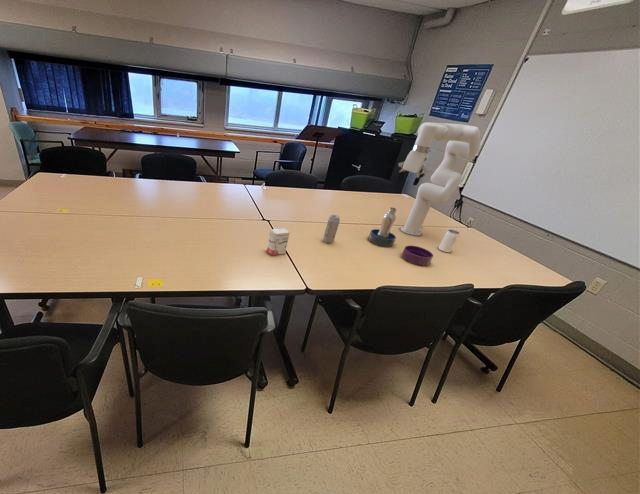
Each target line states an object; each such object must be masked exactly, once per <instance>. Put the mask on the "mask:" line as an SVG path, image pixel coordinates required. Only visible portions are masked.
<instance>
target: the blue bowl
mask: <svg viewBox="0 0 640 494" xmlns="http://www.w3.org/2000/svg"><path fill="white" fill-rule="evenodd" d="M379 230H380V228H376V229H375V228H374V229H371V230H370V232H369V235H368V238H367V240H368V241H369V242H371V243H372V244H375V245H377V246H380V247H387V248H388V247H392V246H394V244H395V242H396V239H397V236H396V235H395V234H394V233H393V232H391V231H390V232H389V237H388V239H385V238H381V237H378V236H376V235H377V233H378V232H379Z"/></svg>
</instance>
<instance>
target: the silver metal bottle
mask: <svg viewBox="0 0 640 494" xmlns="http://www.w3.org/2000/svg"><path fill="white" fill-rule="evenodd" d="M397 210H398V209H397V208H395V207H389V208H388V211H387V212H386V213H384V215H383V218H382V221H381V225H380V228H379V232H378V233H377V235H376V236H378V237H381V238H385V239H388V237H389V232H390V233H391V229H392V228H393V227H392V226H393V225H394V223H395V222H396V219H397V216H396V213H397Z"/></svg>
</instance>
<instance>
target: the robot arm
mask: <svg viewBox="0 0 640 494" xmlns="http://www.w3.org/2000/svg"><path fill="white" fill-rule="evenodd" d="M433 141H434V142H441V141H444V142H447V143H446V145H445V149H444V155H443V159H442V161H441V163H440V164H439V165H438V166H437V168H436V169H435V170H434V172H433V173H432V175H431V176H430V180H429V181H430V182H423V183H421V184H420V185H419V186H418V184H419V182H420V180H421V179H422V178H423V177H425V176H426V175H427V174H428V173H429V169H428V168H427V166H426V165H427V162H428V160H429V154H428V153H431V151H432V149H430V147H432V146H431V145H432V143H433ZM480 148H481V131H480V129H479V127H478V126H474V125H468V124H463V123H446V122H432V121H431V122H429V121H427V122H426V121H425V122H423V123H422V124H420V125H419V127H418V129H417V137H416V140H415V142H414V144H413V147H412V148H411V149H412V150H410V152H409V153H408V154H407V156H406V158H405V160H404V161H401V162H398V173H399V174H398V176H397V181H402V180H403V178H404V175H405V172H406V171H407V172H410V173H412V174H415V175H416V177H414V180H413V182H412V186H418V189H417V192H416V197H415V198H414V199H415V200H414V203H413V204H412V207H411V210H410V212H409V213H408V216H407V219H406V222H405V224H404V226H401V227H400V231H402V232H403V233H405V234H406V235H410V236H421V235H422V231H420V230H421V229H424V225H423V224H424V222H425V220H426V217H427V215H428V213H429V211H430V210H431V209H430V208H431V203H430V202H432V203H435V204H438V205H443V204H445V203H446V202H447V201H448V200H449V198H450V197H451V196H452V194H454V192H455V191H456V190H457V188H458V186H459V185H460V184H461V182H462V178H463V175H462V174H461V173H460V172H458V171H455V170H456V169H457V167H458V158H457V156H461V157H464V158H473V157H475V156H476V155H477V154H478V152H479V150H480Z"/></svg>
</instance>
